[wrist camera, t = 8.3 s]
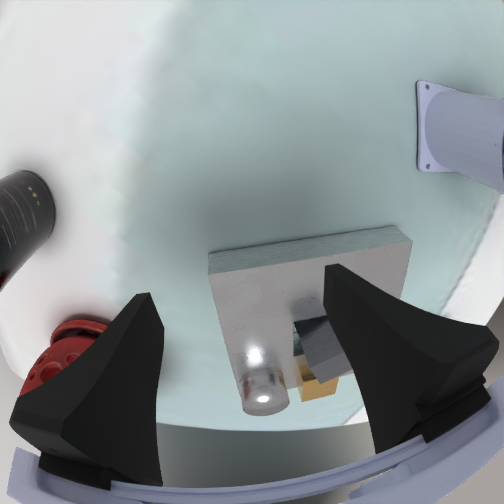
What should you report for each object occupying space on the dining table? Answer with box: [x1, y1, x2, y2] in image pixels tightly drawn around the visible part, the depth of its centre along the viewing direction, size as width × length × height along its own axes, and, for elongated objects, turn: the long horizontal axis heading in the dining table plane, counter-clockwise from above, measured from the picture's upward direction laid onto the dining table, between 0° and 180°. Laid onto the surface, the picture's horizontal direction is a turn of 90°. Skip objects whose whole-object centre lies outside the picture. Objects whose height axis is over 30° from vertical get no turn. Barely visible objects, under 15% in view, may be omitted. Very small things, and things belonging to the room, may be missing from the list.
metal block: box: [294, 315, 352, 384], centre depth 22 cm, size 3×3×7 cm
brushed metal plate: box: [208, 226, 412, 416], centre depth 23 cm, size 16×16×6 cm
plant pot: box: [19, 320, 108, 396], centre depth 20 cm, size 13×13×12 cm
